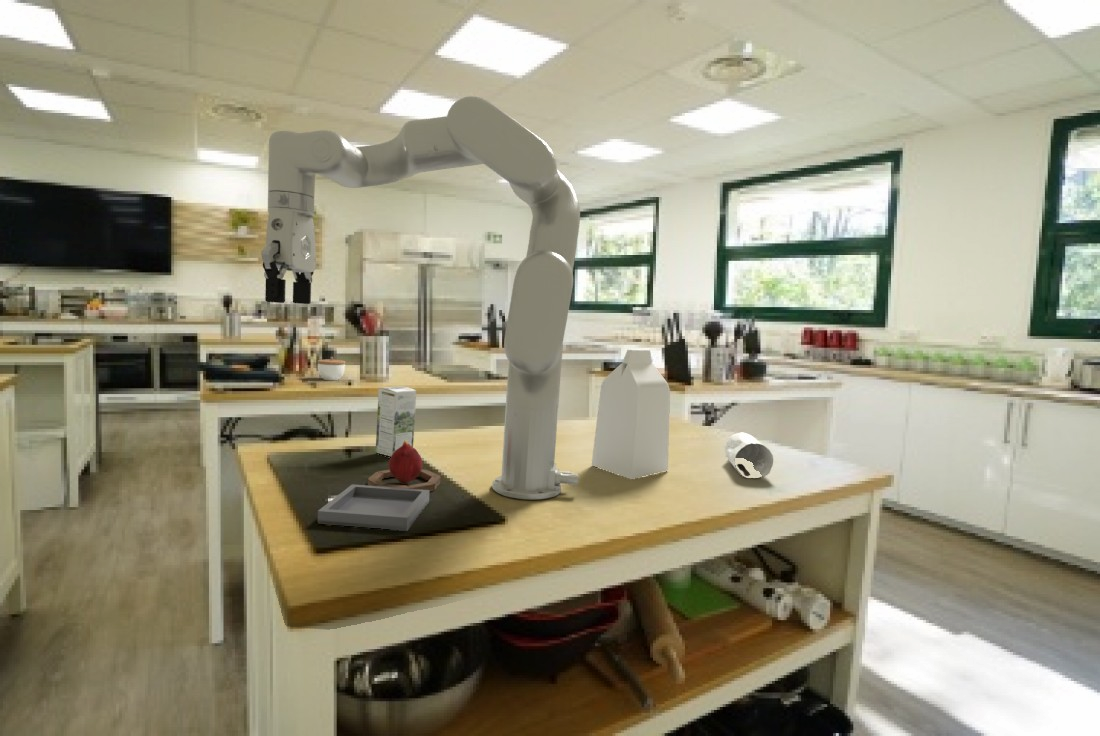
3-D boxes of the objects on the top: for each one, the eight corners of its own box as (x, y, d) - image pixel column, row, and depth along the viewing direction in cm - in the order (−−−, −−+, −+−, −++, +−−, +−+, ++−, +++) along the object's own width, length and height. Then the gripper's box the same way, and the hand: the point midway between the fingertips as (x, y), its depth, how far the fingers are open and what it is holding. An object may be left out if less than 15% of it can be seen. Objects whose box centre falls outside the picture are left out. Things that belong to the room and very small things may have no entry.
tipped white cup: (751, 460, 140) (754, 428, 139) (771, 481, 121) (775, 445, 121) (718, 457, 141) (721, 425, 140) (733, 478, 122) (736, 441, 121)
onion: (427, 483, 105) (429, 440, 104) (407, 491, 99) (409, 446, 99) (402, 477, 107) (404, 435, 106) (381, 485, 102) (383, 441, 101)
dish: (429, 501, 95) (429, 490, 94) (407, 531, 82) (407, 517, 81) (351, 496, 95) (351, 484, 95) (317, 524, 82) (317, 511, 82)
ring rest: (444, 477, 109) (445, 471, 109) (429, 496, 97) (430, 490, 97) (382, 472, 109) (382, 466, 109) (360, 491, 97) (360, 484, 97)
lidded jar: (312, 378, 234) (312, 355, 233) (336, 377, 242) (337, 355, 241) (325, 381, 227) (326, 358, 226) (350, 380, 235) (350, 357, 234)
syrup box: (396, 449, 127) (398, 385, 126) (414, 454, 124) (416, 388, 123) (374, 453, 123) (377, 387, 121) (392, 459, 119) (395, 390, 118)
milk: (631, 479, 116) (641, 352, 113) (591, 466, 124) (599, 347, 122) (667, 471, 124) (678, 352, 121) (627, 459, 132) (636, 347, 130)
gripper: (288, 197, 93) (285, 303, 94) (332, 216, 110) (329, 305, 111) (242, 194, 93) (241, 300, 94) (293, 213, 110) (291, 302, 112)
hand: (289, 302), depth 103 cm, fingers open, 9 cm apart
